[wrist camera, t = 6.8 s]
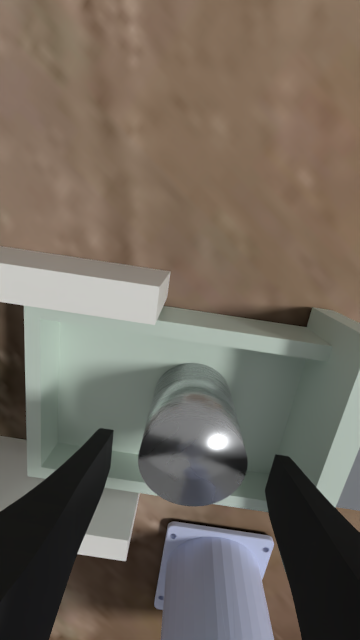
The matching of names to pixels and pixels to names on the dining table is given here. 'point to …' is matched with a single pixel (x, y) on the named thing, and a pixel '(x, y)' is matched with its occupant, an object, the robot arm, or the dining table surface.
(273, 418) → the tray
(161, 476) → the brushed steel cylinder
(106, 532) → the white drawer housing
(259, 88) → the dining table surface
